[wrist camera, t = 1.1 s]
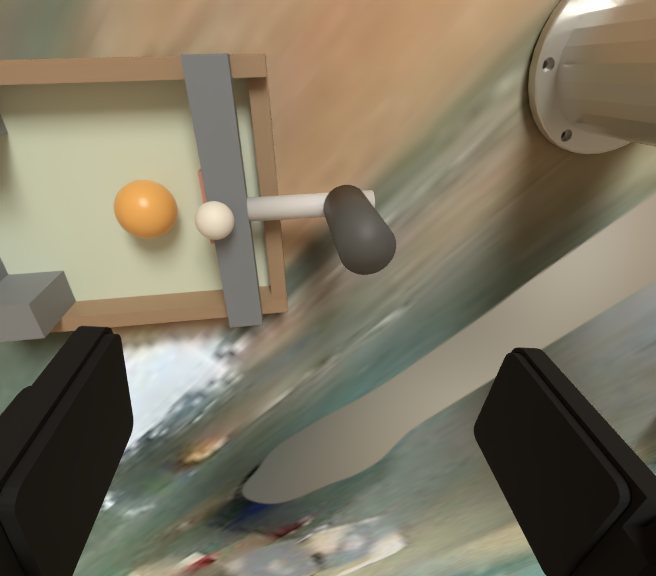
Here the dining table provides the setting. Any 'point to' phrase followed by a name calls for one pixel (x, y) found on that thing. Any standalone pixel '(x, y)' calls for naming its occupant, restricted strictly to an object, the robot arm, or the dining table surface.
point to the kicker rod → (240, 210)
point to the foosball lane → (102, 187)
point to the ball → (145, 209)
